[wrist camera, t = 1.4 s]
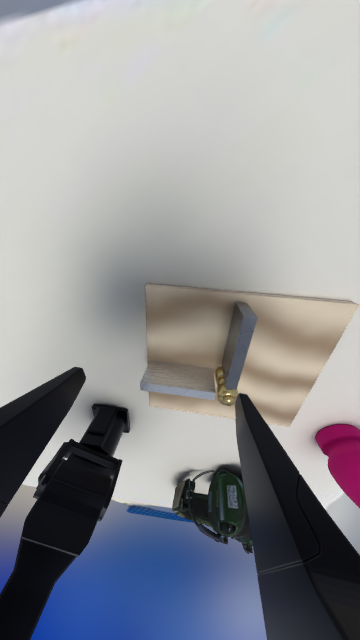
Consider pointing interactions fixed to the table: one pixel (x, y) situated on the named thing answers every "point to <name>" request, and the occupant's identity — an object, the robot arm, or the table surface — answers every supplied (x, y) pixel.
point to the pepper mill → (343, 457)
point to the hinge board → (264, 351)
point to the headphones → (217, 508)
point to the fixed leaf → (186, 381)
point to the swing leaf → (237, 344)
